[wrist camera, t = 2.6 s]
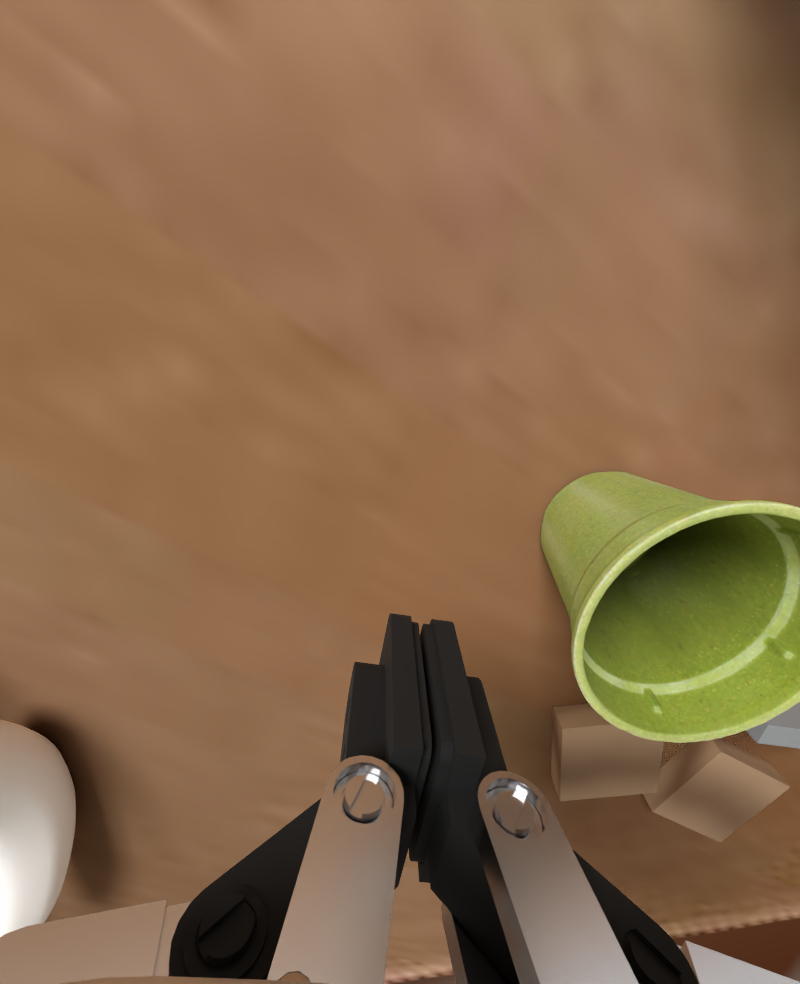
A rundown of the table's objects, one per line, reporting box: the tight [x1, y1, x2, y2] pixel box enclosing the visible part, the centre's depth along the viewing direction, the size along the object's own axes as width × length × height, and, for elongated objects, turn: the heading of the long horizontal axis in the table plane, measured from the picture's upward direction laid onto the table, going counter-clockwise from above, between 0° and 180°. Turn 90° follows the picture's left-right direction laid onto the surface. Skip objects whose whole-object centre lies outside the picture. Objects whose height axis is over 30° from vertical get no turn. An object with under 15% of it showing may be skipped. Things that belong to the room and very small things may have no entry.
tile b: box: [643, 738, 790, 843], centre depth 28 cm, size 6×6×2 cm
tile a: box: [551, 703, 664, 801], centre depth 27 cm, size 6×6×2 cm
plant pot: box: [541, 472, 800, 743], centre depth 18 cm, size 9×9×9 cm
